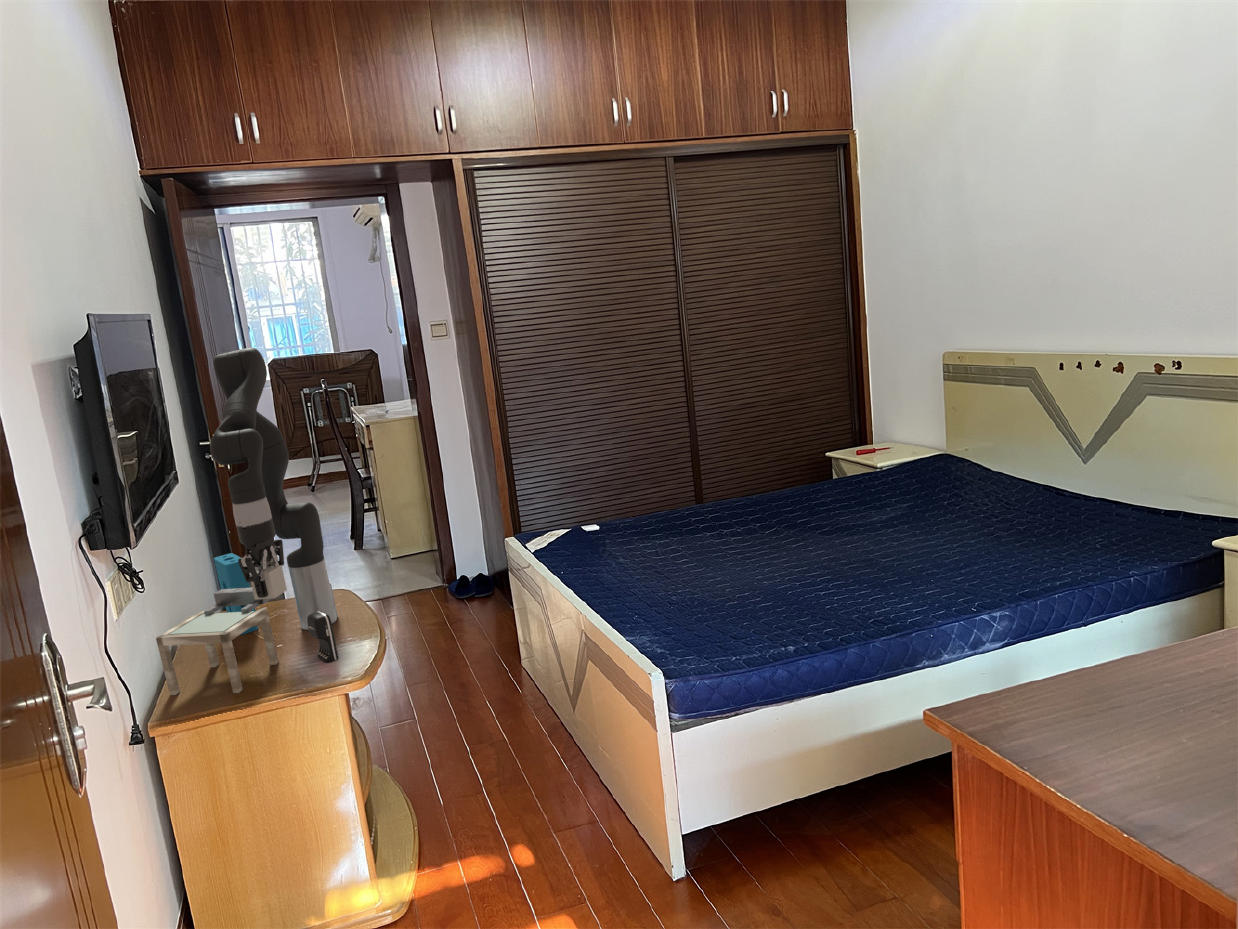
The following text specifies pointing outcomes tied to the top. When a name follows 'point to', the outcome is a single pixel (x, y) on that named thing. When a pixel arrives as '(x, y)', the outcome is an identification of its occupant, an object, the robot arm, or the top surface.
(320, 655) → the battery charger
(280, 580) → the stone block
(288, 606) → the top surface
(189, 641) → the trapdoor frame
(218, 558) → the block
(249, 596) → the trapdoor
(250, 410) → the robot arm
